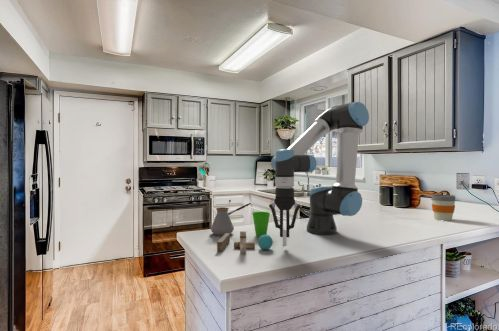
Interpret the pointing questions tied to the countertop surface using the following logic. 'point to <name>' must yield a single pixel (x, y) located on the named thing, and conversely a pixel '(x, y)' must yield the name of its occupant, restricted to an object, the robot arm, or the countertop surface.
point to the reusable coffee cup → (443, 206)
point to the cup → (261, 222)
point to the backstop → (223, 242)
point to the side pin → (242, 242)
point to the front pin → (248, 245)
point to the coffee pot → (223, 221)
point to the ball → (265, 242)
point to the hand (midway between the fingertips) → (284, 245)
